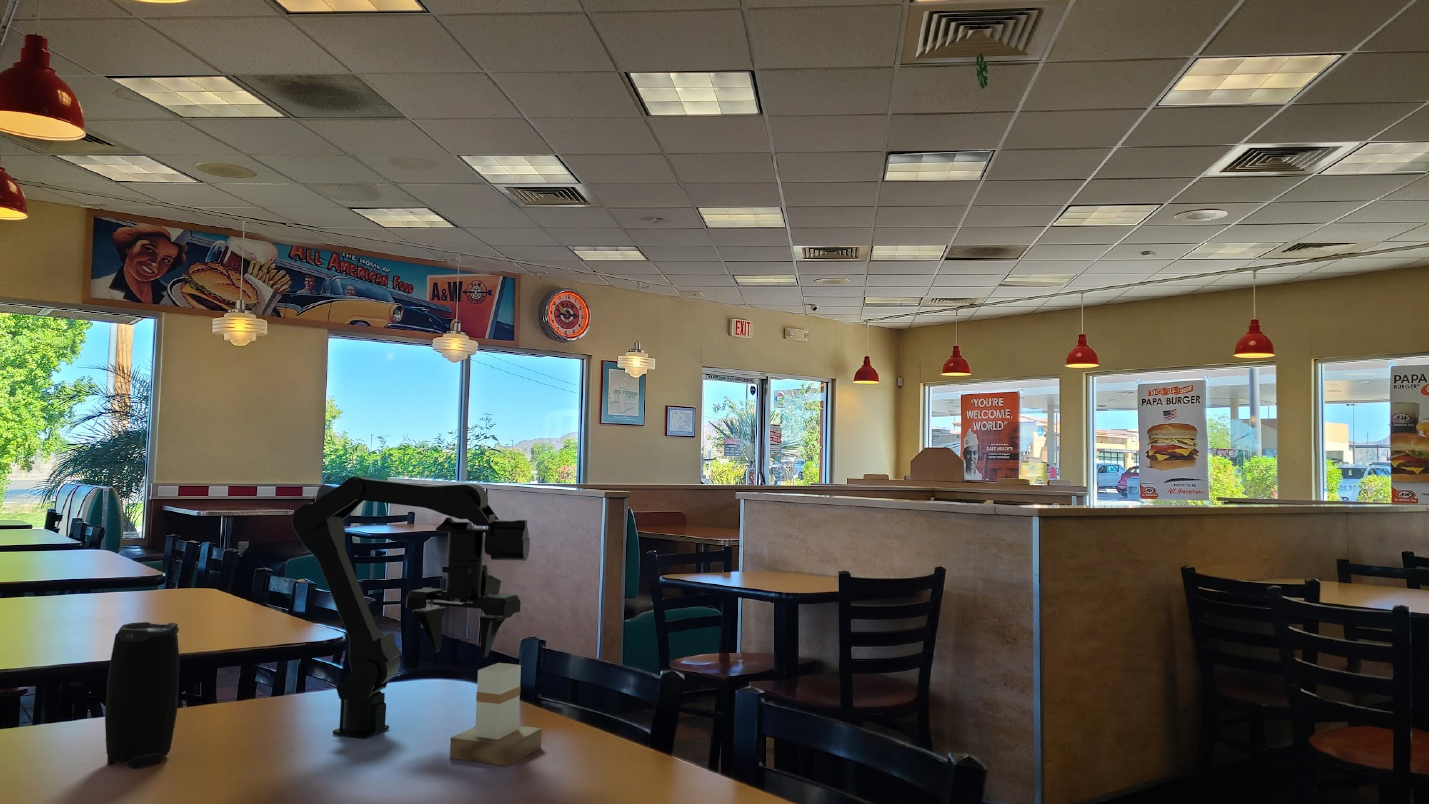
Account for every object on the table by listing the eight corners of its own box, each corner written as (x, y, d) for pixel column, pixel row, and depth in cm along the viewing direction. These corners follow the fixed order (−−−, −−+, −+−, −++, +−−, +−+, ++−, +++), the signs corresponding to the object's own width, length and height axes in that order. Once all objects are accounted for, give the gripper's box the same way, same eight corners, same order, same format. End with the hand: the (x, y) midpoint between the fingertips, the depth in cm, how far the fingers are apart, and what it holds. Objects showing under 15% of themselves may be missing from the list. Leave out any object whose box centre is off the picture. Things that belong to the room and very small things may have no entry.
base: (449, 757, 143) (450, 737, 143) (485, 740, 152) (486, 721, 153) (507, 766, 140) (508, 745, 140) (540, 747, 149) (541, 728, 149)
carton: (474, 736, 144) (477, 670, 145) (495, 726, 150) (498, 662, 151) (498, 739, 143) (500, 672, 143) (518, 729, 149) (521, 665, 149)
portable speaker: (186, 752, 142) (195, 621, 143) (145, 772, 133) (155, 631, 134) (131, 750, 142) (140, 619, 144) (86, 769, 133) (97, 629, 134)
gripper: (538, 558, 162) (534, 650, 161) (445, 552, 168) (441, 641, 167) (504, 564, 151) (500, 663, 150) (406, 557, 157) (401, 652, 156)
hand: (460, 654), depth 156 cm, fingers open, 9 cm apart
